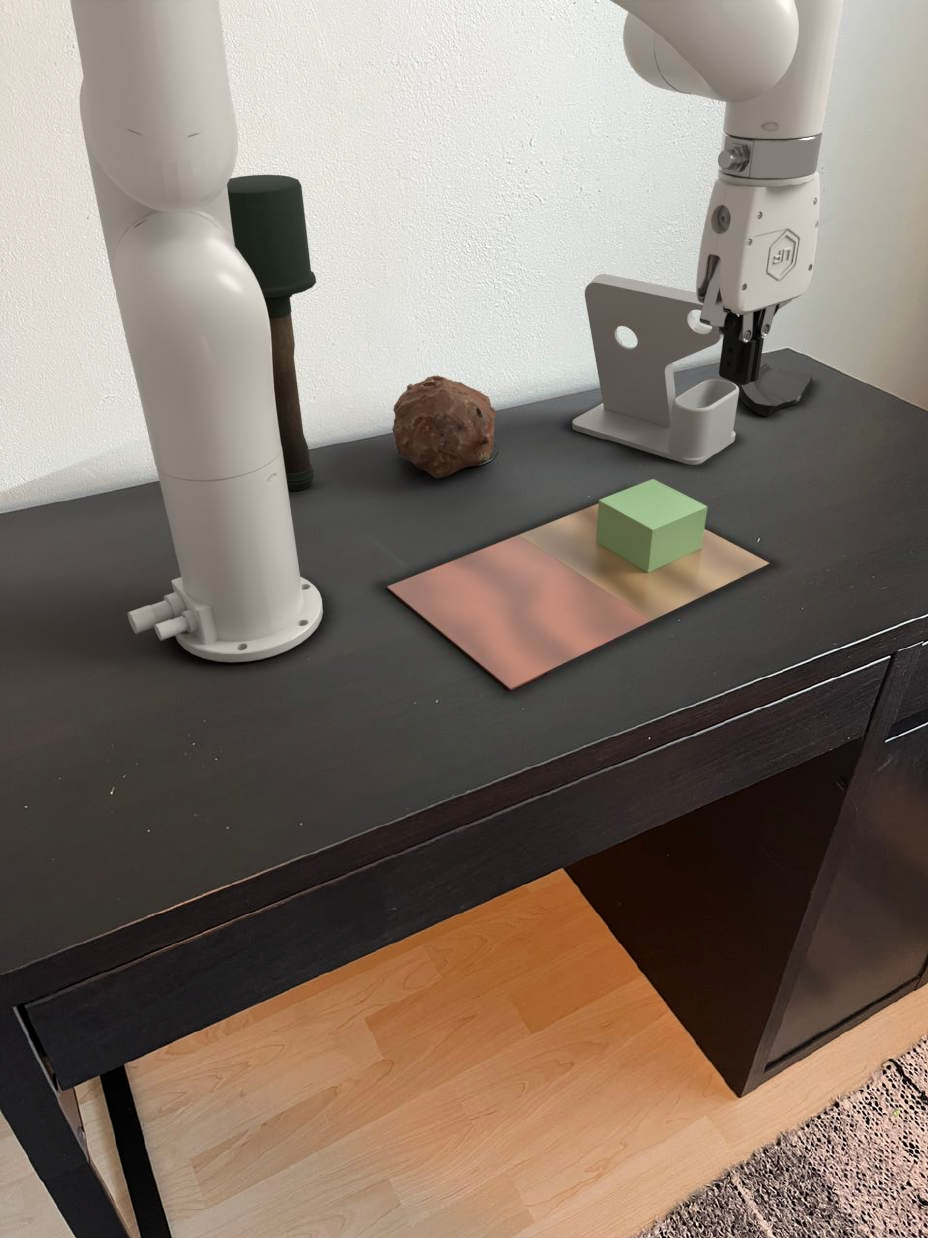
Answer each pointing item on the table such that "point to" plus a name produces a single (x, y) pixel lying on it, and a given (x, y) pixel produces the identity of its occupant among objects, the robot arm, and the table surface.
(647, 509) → the green block
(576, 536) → the plate
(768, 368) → the dark sector wedge
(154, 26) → the robot arm
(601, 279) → the phone holder
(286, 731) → the table surface
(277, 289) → the potato masher grenade
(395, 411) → the decorative rock
